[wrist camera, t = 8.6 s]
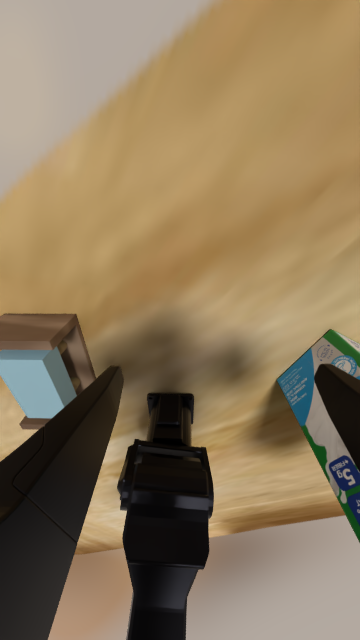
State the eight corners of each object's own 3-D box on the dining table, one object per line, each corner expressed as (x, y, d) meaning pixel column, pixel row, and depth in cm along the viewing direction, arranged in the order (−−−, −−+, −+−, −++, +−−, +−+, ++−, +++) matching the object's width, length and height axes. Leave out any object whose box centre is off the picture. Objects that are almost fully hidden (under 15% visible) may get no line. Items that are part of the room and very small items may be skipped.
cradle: (101, 396, 29) (86, 430, 25) (46, 395, 29) (22, 429, 25) (75, 313, 22) (49, 341, 18) (4, 313, 22) (-39, 340, 18)
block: (9, 344, 21) (-10, 359, 19) (56, 344, 21) (42, 360, 19) (40, 400, 26) (27, 417, 24) (79, 401, 26) (69, 418, 24)
